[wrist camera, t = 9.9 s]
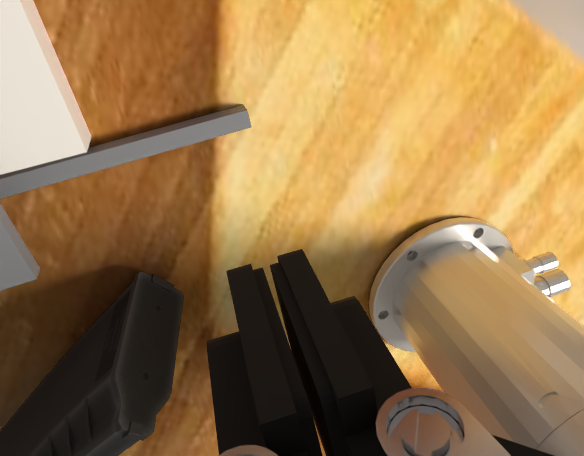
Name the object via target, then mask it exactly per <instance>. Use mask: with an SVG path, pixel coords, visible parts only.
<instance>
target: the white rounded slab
mask: <svg viewBox="0 0 584 456" xmlns="http://www.w3.org/2000/svg"><path fill="white" fill-rule="evenodd" d="M90 140H91V134H90V132H89V130H88V127H87V125H86V123H85V120H84V118H83V116H82V113H81V111H80V109H79V106H78V104H77V102H76V99H75V97H74V95H73V92H72V90H71V88H70V85H69V83H68V81H67V78H66V76H65V74H64V71H63V69H62V67H61V64H60V62H59V60H58V57H57V55H56V53H55V50H54V48H53V46H52V43H51V41H50V39H49V36H48V34H47V32H46V29H45V27H44V25H43V22H42V20H41V18H40V15H39V13H38V11H37V8H36V6H35V4H34V1H33V0H0V175H2V174H5V173H9V172H13V171H17V170H21V169H25V168H28V167H32V166H36V165H40V164H44V163H47V162H51V161H55V160H59V159H63V158H67V157H70V156H74V155H78V154H82V153H86V152H87V150H88V147H89V144H90Z"/></svg>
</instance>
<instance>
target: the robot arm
mask: <svg viewBox="0 0 584 456" xmlns="http://www.w3.org/2000/svg"><path fill="white" fill-rule="evenodd" d="M278 262H279V263H276V264H272V265H270V268H271V272H272V276H273V280H274V284H275V288H276V292H277V296H278V300H279V304H280V308H281V312H282V316H283V320H284V324H285V327H286V331H287V335H288V339H289V343H290V346H289V343H288V340H287V337H286V334H285V331H284V328H283V326H282V323H281V320H280V317H279V314H278V311H277V308H276V305H275V302H274V299H273V297H272V294H271V291H270V288H269V285H268V282H267V279H266V276H265V273H264V270H263V268H259V269H255V270H253V269H252V266H251V264H249V265H245V266H242V267H238V268H235V269H231V270H228V271H227V276H228V281H229V285H230V290H231V295H232V299H233V304H234V309H235V313H236V318H237V323H238V328H239V332H235V333H232V334H229V335H226V336H223V337H219V338H216V339H213V340H210V341H207V353H208V362H209V370H210V379H211V388H212V397H213V405H214V414H215V423H216V432H217V440H218V449H219V456H322V452H321V448H320V444H319V440H318V436H317V432H316V428H315V424H316V427H317V430H318V433H319V436H320V439H321V442H322V445H323V448H324V451H325V454H326V456H584V325H582V324H581V323H580V322H579V321H578V320H576V319H575V318H574V317H573V316H571V315H570V314H569V313H568V312H566V311H565V310H564V309H563V308H562V307H560V306H559V305H558V304H557V303H555V302H554V301H553V300H552V299H551V298H550V297H552V296H555V295H558V294H561V293H563V292H566V291H568V290H569V289H570V281H569V279H568V277H567V275H566V274H565V273H564V272H563V271H562V270H559V269H555V268H557V266H558V260H557V258H556V256H555V255H554V254H553V253H551V252H547V253H544V254H541V255H539V256H536V257H533V258H532V259H530V260H527V261H526V260H524V259H520V258H518V257H517V256H516V255H514V251H513V248H512V245H511V243H510V241H509V240H508V239H507V237H506V236H505V235H504V234H503V233H502V232H501V231H499V230H498V229H497V228H496V227H494V226H493V225H491V224H489V223H487V222H486V221H483V220H479V219H476V218H465V217H459V218H452V219H446V220H443V221H440V222H437V223H434V224H431V225H429V226H427V227H425V228H423V229H421V230H419V231H417V232H416V233H415V234H413V235H412V236H410V237H409V238H408V239H406V240H405V241H404V242H402V243H401V244H400V245H399V246H398V247H397V248H396V249H395V250H394V251H393V252H392V253H391V254H390V256H389V257H388V258H387V260H386V261H385V262H384V263H383V265H382V266H381V268H380V270H379V272H378V274H377V275H376V277H375V280H374V283H373V285H372V288H371V292H370V299H369V310H370V316H371V319H372V322H373V324H374V326H375V327H376V329H377V330H376V329H375V327H374V326H373V324H372V322H371V321H370V319H369V317H368V316H367V314H366V312H365V311H364V309H363V308H362V306H361V304H360V303H359V301H358V300H357V299H356V297H354V296H352V297H349V298H346V299H343V300H339V301H336V302H333V303H330V302H329V300H328V298H327V296H326V294H325V292H324V290H323V288H322V286H321V284H320V282H319V280H318V279H317V277H316V275H315V273H314V271H313V269H312V267H311V265H310V263H309V261H308V259H307V257H306V255H305V253H304V252H303V250H302V249H300V250H297V251H293V252H290V253H286V254H283V255H279V256H278ZM552 269H555V270H552ZM549 270H552V271H549ZM546 271H549V272H546ZM544 272H546V273H544ZM538 273H544V274H541V275H538V276H536V277H535V278H534V276H535V275H536V274H538ZM377 331H378V332H379V334H380V335H381V336H382V337H383V338H384V340H385V341H386V342H388V343H389V344H391V345H392V346H394V347H396V348H399V349H402V350H405V351H411V352H416V353H417V354H418V355H419V357H420V358H421V360H422V361H423V363H424V364H425V365H426V367H427V368H428V370H429V371H430V372H431V374H432V375H433V377H434V378H435V379H436V381H437V382H438V384H439V385H440V387H441V388H442V389H443V391H444V392H445V393H444V392H442V391H439V390H435V389H430V388H411V386H410V384H409V383H408V381H407V379H406V378H405V376H404V375H403V373H402V371H401V370H400V368H399V366H398V365H397V363H396V361H395V360H394V358H393V357H392V355H391V353H390V352H389V350H388V348H387V347H386V345H385V344H384V342H383V340H382V339H381V337H380V335H379V334H378V332H377ZM290 347H291V349H290ZM291 351H292V352H291ZM314 421H315V423H314Z"/></svg>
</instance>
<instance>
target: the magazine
mask: <svg viewBox="0 0 584 456" xmlns="http://www.w3.org/2000/svg"><path fill="white" fill-rule="evenodd" d="M183 299H184V295H183V293H182V292H181V291H179V290H177V289H175V288H174V285H173V284H171V283H169V282H167V281H165V280H163V279H161V278H159V277H158V276H156V275H154V274H153V275H152V276H150V275H148V274H146V273H144V272H140V273H138V274H137V275H136V276H135V277H134V281H133V283H132V284H131V285H130V286H129V287H128V288H127V289H126V290H125V291H124V292H123V293H122V294H121V295H120V297H119V298H118V299H117V300H116V301H115V302H114V303H113V304H112V305H111V306H110V307H109V308H108V309H107V310H106V312H105V313H104V314H103V315H102V316H101V317H100V318H99V319H98V320H97V321H96V322H95V323H94V324H93V326H92V327H91V328H90V329H89V330H88V331H87V332H86V333H85V334H84V335H83V336H82V337H81V338H80V339H79V341H78V342H77V343H76V344H75V345H74V346H73V347H72V348H71V349H70V350H69V351H68V353H67V354H66V355H65V356H64V357H63V358H62V359H61V360H60V361H59V363H58V364H57V365H56V366H55V367H54V368H53V369H52V371H51V372H50V373H49V374H48V375H47V376H46V377H45V379H44V380H43V381H42V382H41V383H40V384H39V385H38V387H37V388H36V389H35V390H34V391H33V393H32V394H31V395H30V396H29V397H28V398H27V400H26V401H25V402H24V403H23V404H22V406H21V407H20V408H19V409H18V410H17V412H16V413H15V414H14V415H13V417H12V418H11V419H10V420H9V421H8V423H7V424H6V425H5V426H4V428H3V429H2V430H1V431H0V456H118V455H120V454H121V453H122V452H124V451H125V450H126V449H128V448H129V447H131V446H132V445H133V444H135V443H136V442H138V441H139V440H142V441H143V440H144V439H146V438H147V437H149V436H150V435H151V434H152V433H153V432H154V427H155V421H156V415H157V414H158V412H159V411H160V410H161V408H162V407H163V406H164V404H165V403H166V402H167V401H168V399H169V397H170V394H171V391H172V383H173V375H174V368H175V360H176V352H177V345H178V337H179V329H180V322H181V314H182V306H183Z"/></svg>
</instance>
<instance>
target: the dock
mask: <svg viewBox="0 0 584 456" xmlns="http://www.w3.org/2000/svg"><path fill="white" fill-rule="evenodd" d="M250 127H251V123H250V119H249V115H248V111H247V109H246V108H245V106H244V105H241V106H237V107H233V108H230V109H226V110H223V111H219V112H215V113H212V114H208V115H205V116H201V117H197V118H194V119H190V120H187V121H183V122H179V123H176V124H172V125H169V126H165V127H161V128H158V129H154V130H151V131H147V132H143V133H140V134H136V135H133V136H129V137H125V138H122V139H118V140H115V141H111V142H107V143H104V144H100V145H97V146H93V147H89V148H88V150H87V152H86V153H82V154H78V155H74V156H70V157H67V158H63V159H59V160H55V161H51V162H47V163H44V164H40V165H36V166H32V167H28V168H25V169H21V170H17V171H13V172H9V173H5V174H2V175H0V199H1V198H5V197H8V196H12V195H15V194H19V193H22V192H26V191H29V190H33V189H36V188H40V187H43V186H47V185H50V184H54V183H57V182H61V181H64V180H68V179H71V178H75V177H78V176H82V175H85V174H89V173H92V172H96V171H99V170H103V169H106V168H110V167H113V166H117V165H120V164H124V163H127V162H131V161H135V160H138V159H142V158H145V157H149V156H152V155H156V154H159V153H163V152H166V151H170V150H173V149H177V148H180V147H184V146H187V145H191V144H194V143H198V142H201V141H205V140H208V139H212V138H215V137H219V136H222V135H226V134H229V133H233V132H236V131H240V130H243V129H247V128H250ZM39 271H40V267H39V266H38V264H37V263H36V261H35V259H34V258H33V256H32V254H31V253H30V251H29V249H28V248H27V246H26V244H25V243H24V241H23V240H22V238H21V236H20V235H19V233H18V231H17V230H16V228H15V226H14V225H13V223H12V222H11V220H10V218H9V217H8V215H7V213H6V212H5V210H4V208H3V207H2V205H1V203H0V291H1V290H4V289H7V288H10V287H14V286H17V285H20V284H23V283H27V282H30V281H33V280H36V279H37V277H38V274H39Z"/></svg>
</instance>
